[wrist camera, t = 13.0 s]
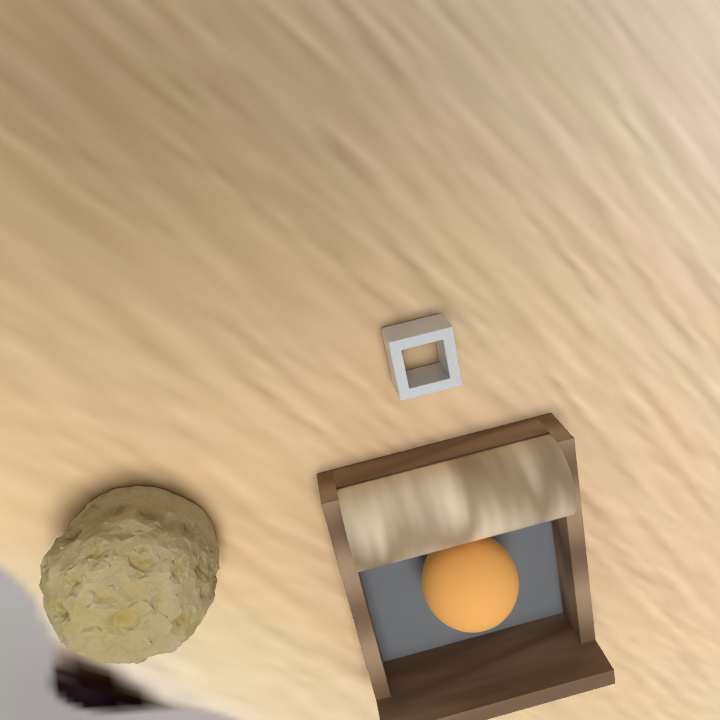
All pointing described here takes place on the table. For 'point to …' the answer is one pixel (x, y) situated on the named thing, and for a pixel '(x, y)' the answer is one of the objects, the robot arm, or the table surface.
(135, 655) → the decorative item
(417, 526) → the brown wooden tray
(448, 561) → the ball
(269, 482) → the table surface
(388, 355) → the grey square frame
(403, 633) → the mat
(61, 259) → the table surface
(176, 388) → the table surface
